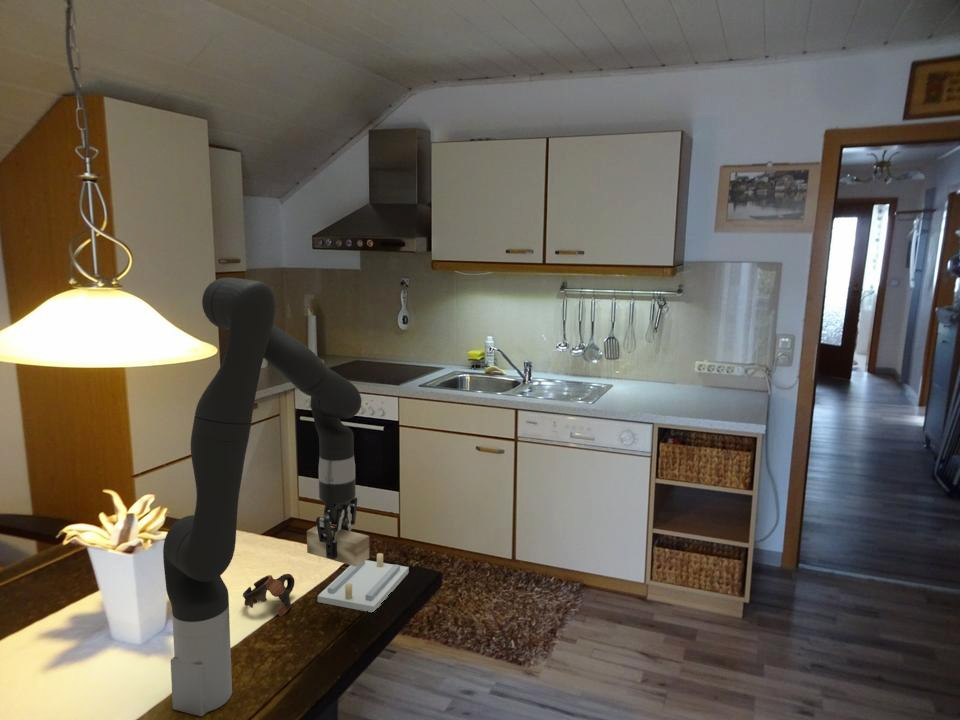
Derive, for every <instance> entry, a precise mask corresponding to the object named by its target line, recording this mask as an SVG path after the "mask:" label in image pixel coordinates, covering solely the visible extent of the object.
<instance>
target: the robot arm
mask: <svg viewBox="0 0 960 720" xmlns="http://www.w3.org/2000/svg"><path fill="white" fill-rule="evenodd" d="M201 299H202V300H201V301H202V304H201V305H202V310H203V313H204V315H205V317H206V318H207V319H208V321H209V323H211V324H212V325H214V326H215V327H217V328H219V330H222V331H223V332H225V333H226V334H228V337H227V341H226V342H227V343H226V349H225V353H224V357H223V360H222V362H221V365H220V367H219V369H218V370H217V371H216V373H215V375H214V376H213V378H212V379H211V381H210V382H209V384H208V385H207V387H206V388H205V389H204V391H203V393H202V394H201V396H200V399H199V400H198V402H197V405H196V408H195V413H194V418H193V423H192V429H191V437H190V457H191V463H192V469H193V474H194V481H195V489H196V501H195V510H194V514H191V515H187V516H183V517H181V518H180V519H178V520H177V521H175V522H174V523H172V524H173V525H171V526H170V528H169V530H168V531H167V533H166V535H165V537H164V542H163V546H162V547H163V550H162V552H163V553H162V555H163V557H162V558H163V560H162V561H163V569H164V571H163V572H164V580H165V588H166V589H165V591H166V594H167V597H168V600H169V602H170V605H171V614H172V615H171V616H172V634H173V652H174V654H173V655H174V656H173V657H172V658H171V659H170V662H169V663H170V677H171V678H170V680H171V697H172V709H173V710H174V711H179V712H182V713H183V712H184V713H187V714H190V715H194V716H198V717H204V715H206V714H207V713H210V712H212V711H214V710H216V709H218V708H221V707H222V706H223V705H225V704H226V703H228V701H230V700H229V699H231V697H232V694H233V682H232V656H231V655H232V653H231V627H230V624H231V623H230V597H229V590H228V587H227V585H226V583H225V582H224V579H222V577H221V576H222V575H223V574H224V573H225V572H226V571H227V569H228V567H229V566H230V565H231V562H232V560H233V557H234V554H235V550H236V540H237V525H238V523H237V522H238V510H239V508H238V507H239V498H240V492H241V491H240V490H241V484H242V479H243V472H244V465H245V459H246V453H247V450H248V446H249V445H248V443H249V438H250V434H251V427H252V422H253V413H254V405H255V402H256V400H255V399H256V395H257V390H258V385H259V380H260V376H261V369H262V366H263V363H264V360H265V361H267V363H269V364H270V365H271V366H273V368H275V369H276V370H277V371H278V372H279V373H280V374H282V376H283V377H285V378H286V379H287V380H288V382H290V383H291V384H292V385H294V386H295V388H297V389H298V390H299V391H300V392H301V393H303V394H304V395H307V396H310V401H309V402H310V409H311V414H312V418H313V421H314V425H315V429H316V432H317V435H318V438H319V439H318V441H319V442H318V443H319V444H318V445H319V446H318V447H319V459H318V460H319V461H318V497H319V500H320V501H322V502H323V504H324V509H323V515H322V516H317V517H316V519H315V524H316V526H317V530H318V535H319V541H320V542H324V543H326V557H327V558H329V560H331V559H335V558H337V542H336V541H337V536H338V532H339V531H340V530H341V529H344V530H348V531H352V529H353V528H352V527H353V526H354V525H356V518H357V517H356V516H357V507H358V497H356V493H357V492H356V463H355V462H356V460H355V451H354V450H355V444H354V443H355V442H354V441H355V439H354V437H355V436H354V432H353V430H352V429H351V428H349V427H348V426H347V425H345V424H343V422H342V420H345V419H346V420H347V419H348V420H349V419H351V418H353V417H355V416H356V415H357V414H358V413H359V412H360V411H361V407H362V397H361V393H360V391H359V389H358V388H357V387H356V386H355V385H354V384H353V383H352V382H350V381H349V380H348V379H346V378H345V377H343V376H342V375H340V374H339V373H338V372H336V371H334V370H332V369H331V368H329V367H328V366H327V365H326V363H324V361H322V360H321V359H320V358H319V356H317V354H316V353H314V352H313V351H312V350H311V348H309V347H308V346H306V345H305V344H304V343H302V342H301V341H300V340H297V339H296V338H295V337H293V336H291V335H290V334H288V333H286V332H285V331H284V330H282V329H280V328H279V327H277V326H276V325H275V324H274V321H275V316H276V307H277V306H276V305H277V304H276V297H275V294H274V292H273V289H272V288H270V286H269V285H268V284H266V283H264V282H262V281H259V280H253V279H245V278H236V277H223V278H218V279H214V280H213V281H212V282H210V283H209V284H208V286H207V287H205V290H204V292H203V294H202V298H201ZM341 419H342V420H341ZM332 525H333V526H332ZM331 531H333V537H332V532H331ZM324 534H325V535H324ZM327 558H326V559H327Z"/></svg>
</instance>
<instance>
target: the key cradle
mask: <svg viewBox="0 0 960 720" xmlns="http://www.w3.org/2000/svg"><path fill="white" fill-rule="evenodd" d="M409 569H410V567H409V566H404V565H400V564H396V563H395V564H391V563H387V562H384V553H381V552H378V553H376V561H374V560H369V559H367V560H366V561H364V562H363V563H361V564H360V565H358V566H357V567H356V566H352V565H348V567H347V568H346V569H345V570H343V572H342V573H340V575H338V576H337V577H336V578H335V579H334V580H332V582H331V583H330V584H328V586H326V588H325V589H323V590H322V591H321V592H319V594H318V595H317V602H318V603H321V604H325V605H326V604H327V605H330V606H337V607H341V608H347V609H353V610H357V611H362V612H367V611H368V613H372V612H374V611H375V610H376V609H377V608H378V609H379V607H381V606H382V604H383V603H384V602H385V601H386V599H387V598H388V597H389V596H390V595H391V594H392V593H393V592H394V591H395V590H396V588H397V587H398V585H400V584H401V582H402V581H403V580H404V579H405V578H406V577H407V576H408V574H409V572H410V571H409ZM391 592H392V593H391ZM390 593H391V594H390ZM389 594H390V595H389ZM388 595H389V596H388ZM384 600H385V601H384ZM383 601H384V602H383ZM382 602H383V603H382ZM381 603H382V604H381ZM378 609H377V610H378ZM377 610H376V611H377ZM376 611H375V612H376ZM375 612H374V613H375Z"/></svg>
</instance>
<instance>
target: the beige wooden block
mask: <svg viewBox="0 0 960 720" xmlns="http://www.w3.org/2000/svg"><path fill="white" fill-rule="evenodd" d="M331 532H332V537H333V531H331ZM324 535H325V534H324ZM336 542H337V558H335V559H329V558H327V557H326V543H324V542H320V541H319V535H318V530H317V525H316V526H313V527H312V528H310V529H308V530H306V554H310V555H313V556H318V557H320V558H323V559H329V560H332V561H334V562H339V563H342V564H346V565H348V566H350V565H352V566H356V567H357V566H358V565H360V564H361V563H363V562H364V561H366V560H369V559H370V535H367V534H364V533H358V532H356V531H355V532H354V531H352V530H350V531H348V530H344V529H341V530H340V531H339V532H338V536H337V541H336Z"/></svg>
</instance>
